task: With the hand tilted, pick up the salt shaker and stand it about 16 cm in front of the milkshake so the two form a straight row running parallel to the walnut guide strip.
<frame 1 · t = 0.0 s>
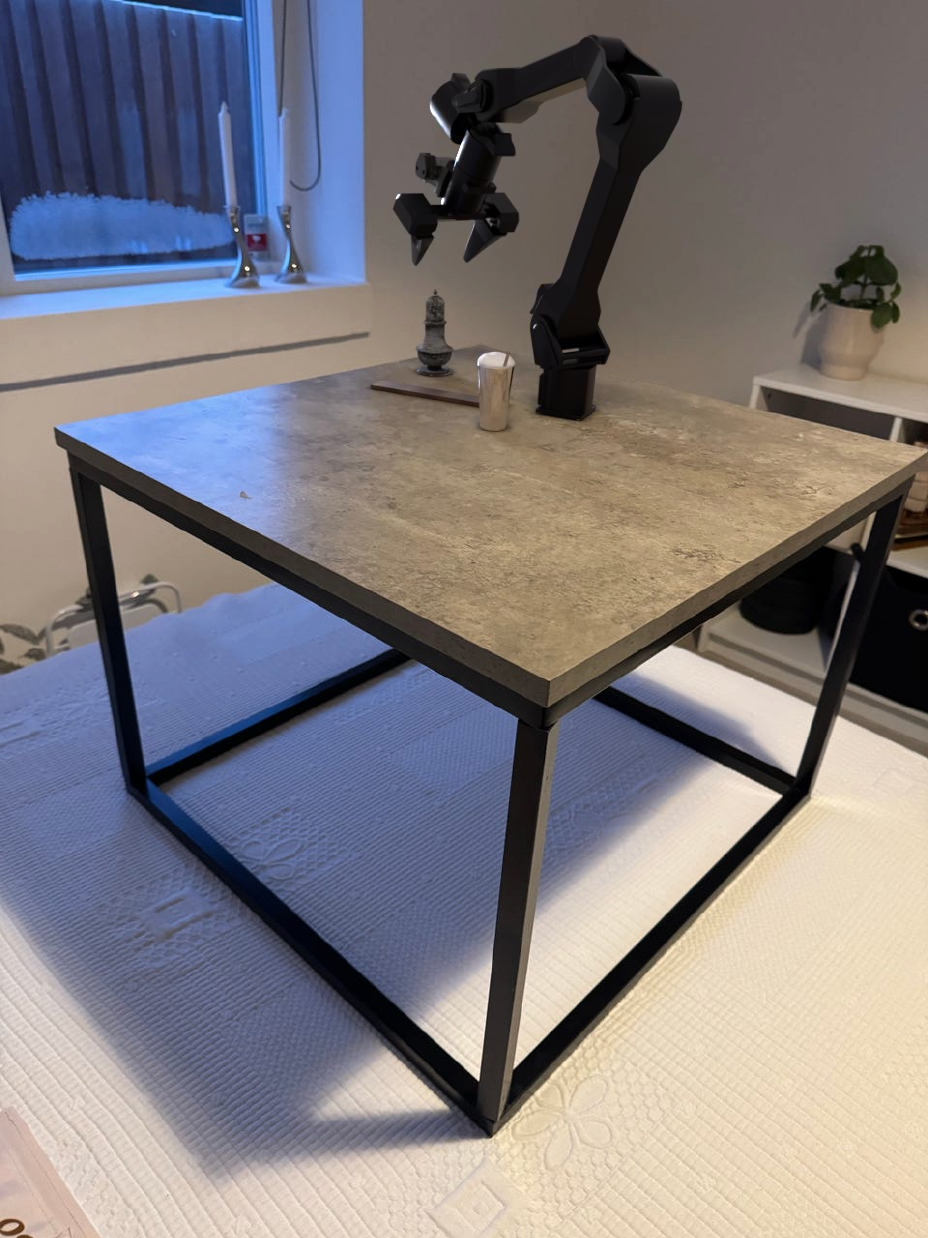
hand: (440, 262, 130), 15 cm above the table, tool tilted 35°, fingers open, 9 cm apart
salt shaker: (434, 373, 132), on the table
milkshake: (494, 429, 108), on the table
guide strip: (437, 396, 119), on the table
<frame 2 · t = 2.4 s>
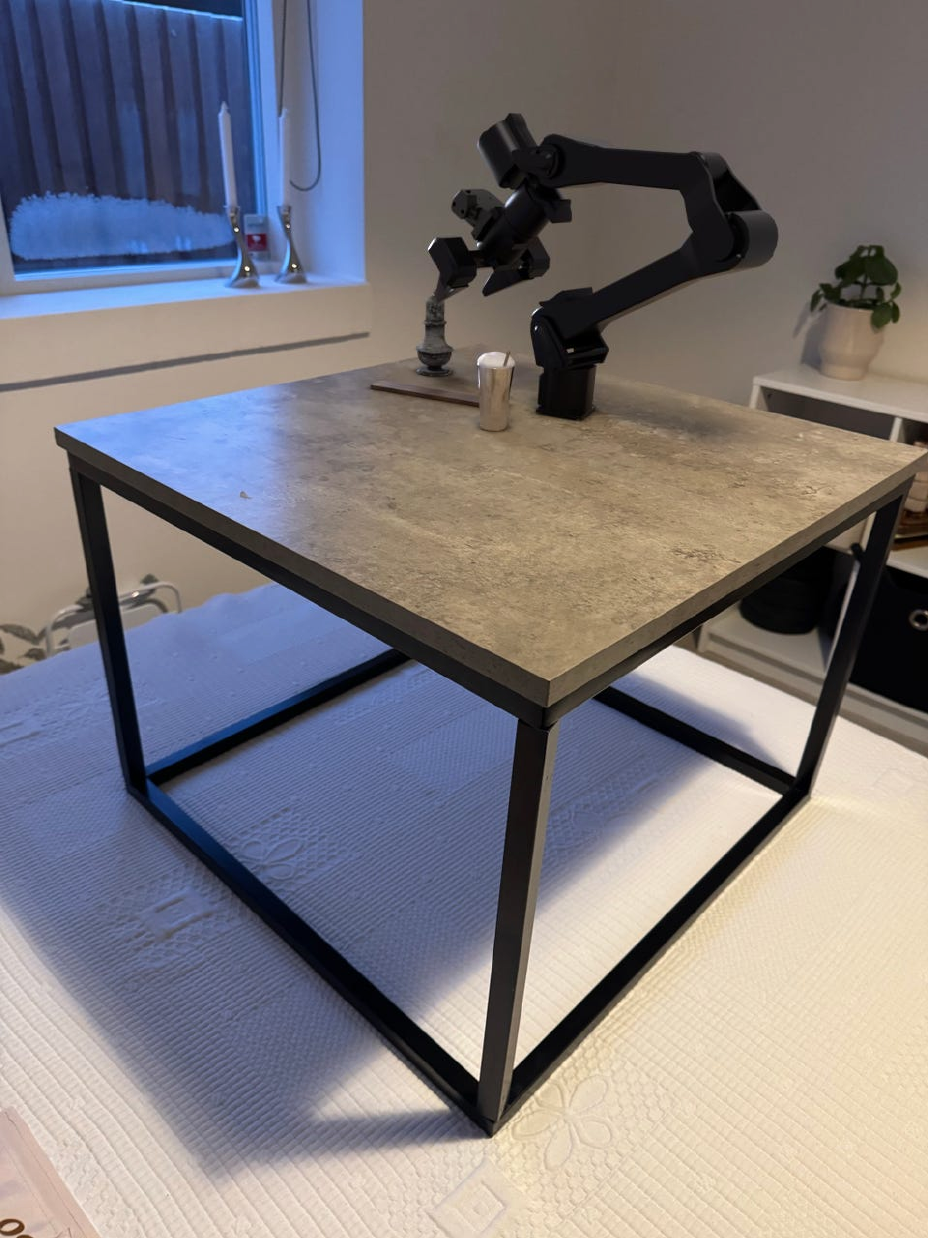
hand: (460, 296, 122), 12 cm above the table, tool tilted 45°, fingers open, 9 cm apart
nothing on the table moved.
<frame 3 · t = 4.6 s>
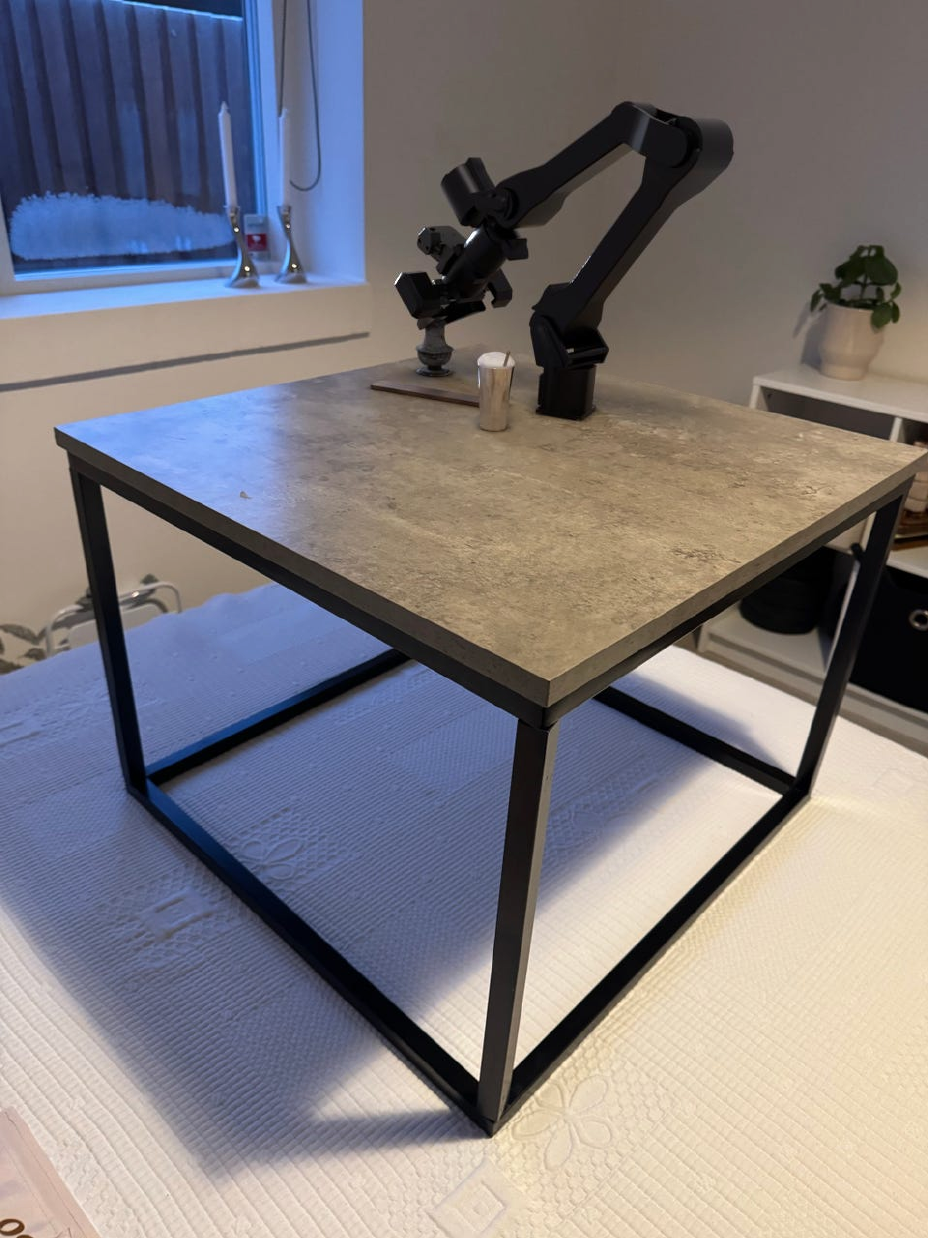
hand: (428, 325, 129), 7 cm above the table, tool tilted 45°, fingers closed on salt shaker, 3 cm apart
salt shaker: (434, 373, 132), on the table, touching gripper
everything else where it was.
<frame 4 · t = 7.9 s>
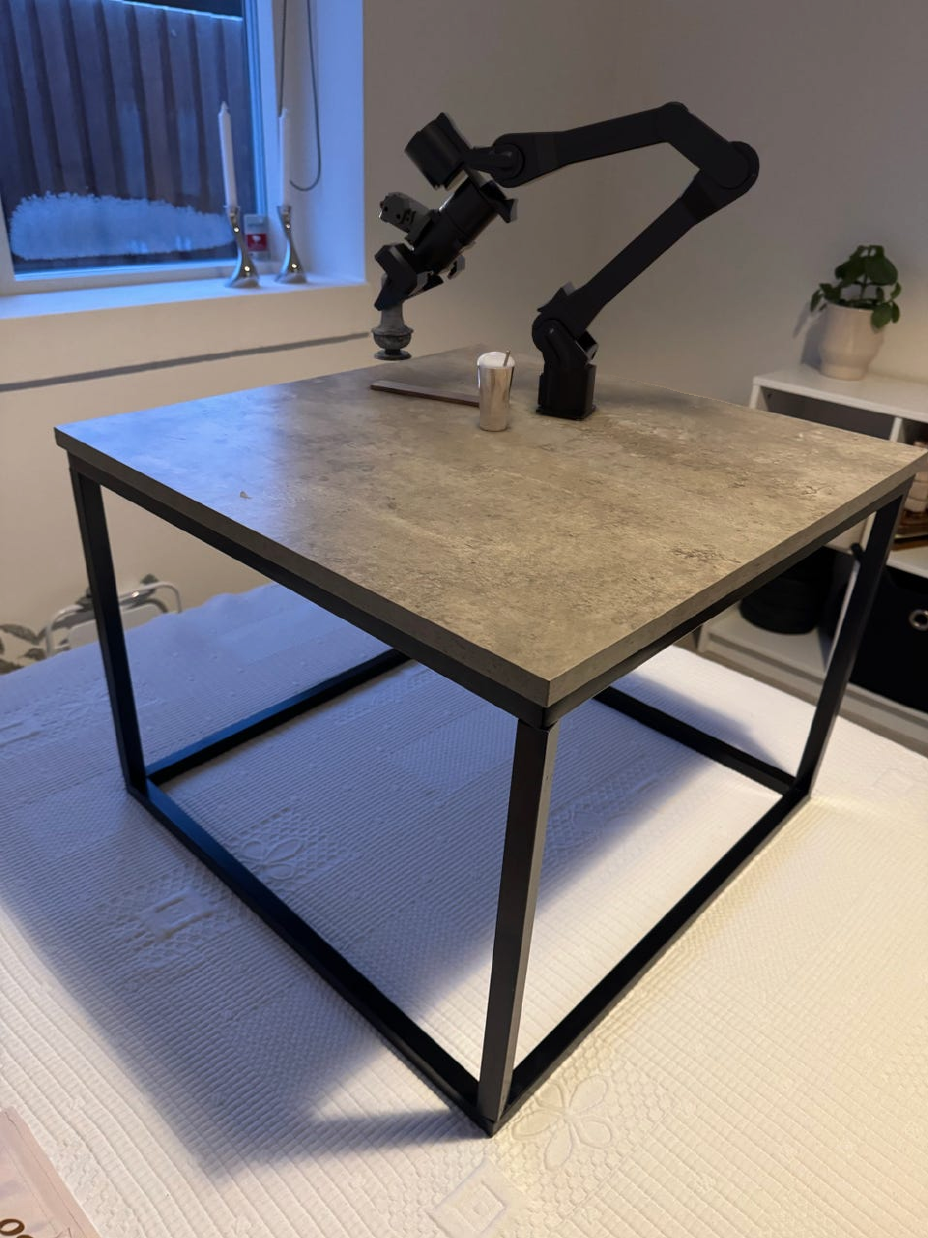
hand: (382, 305, 116), 11 cm above the table, tool tilted 45°, fingers closed on salt shaker, 3 cm apart
salt shaker: (392, 357, 119), point 5 cm above the table, touching gripper
everything else where it was.
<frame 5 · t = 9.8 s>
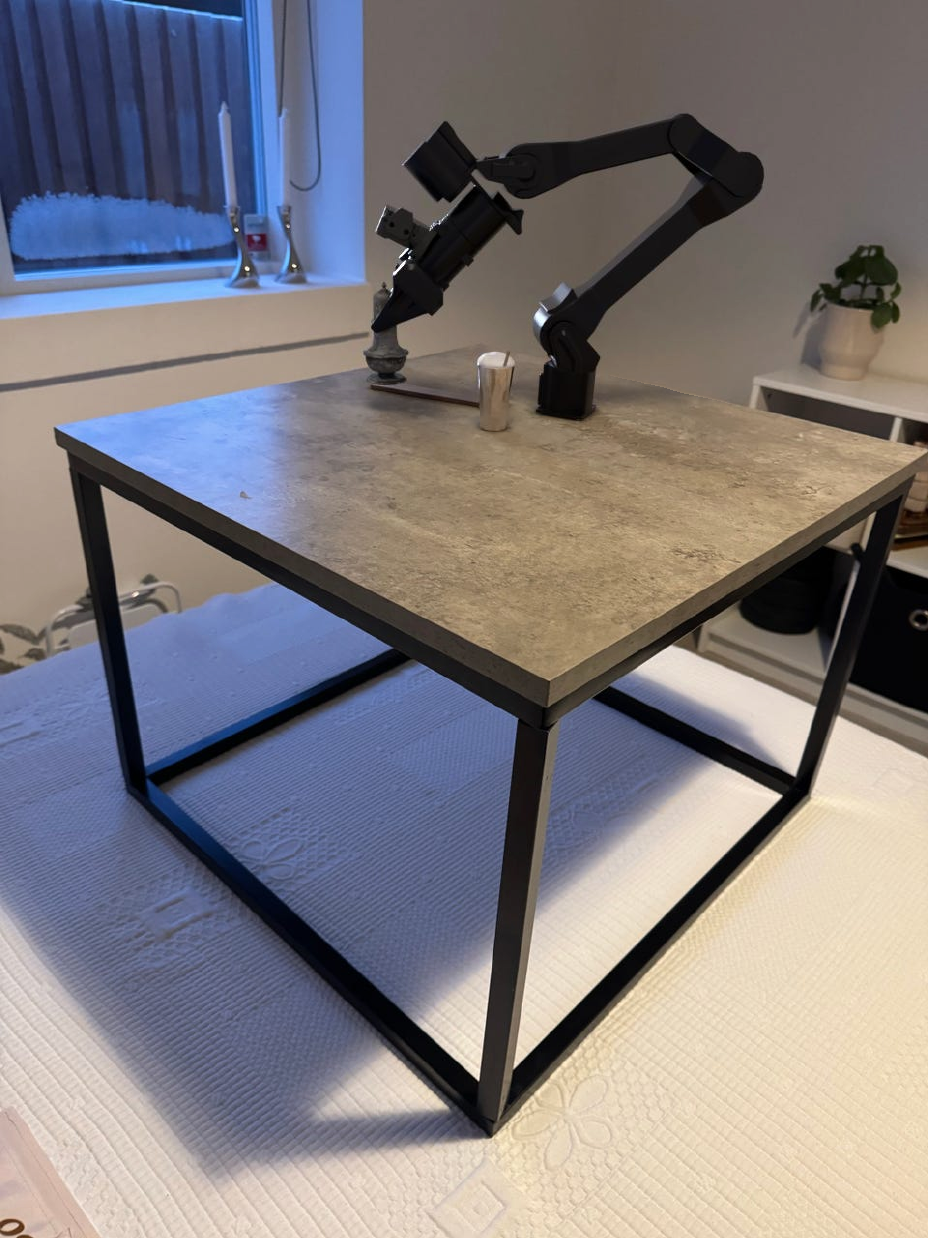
hand: (374, 327, 108), 10 cm above the table, tool tilted 45°, fingers closed on salt shaker, 3 cm apart
salt shaker: (386, 381, 112), point 4 cm above the table, touching gripper
everything else where it was.
when the fingers open (7 cm above the table, at t = 11.2 s): salt shaker stays where it is, on the table.
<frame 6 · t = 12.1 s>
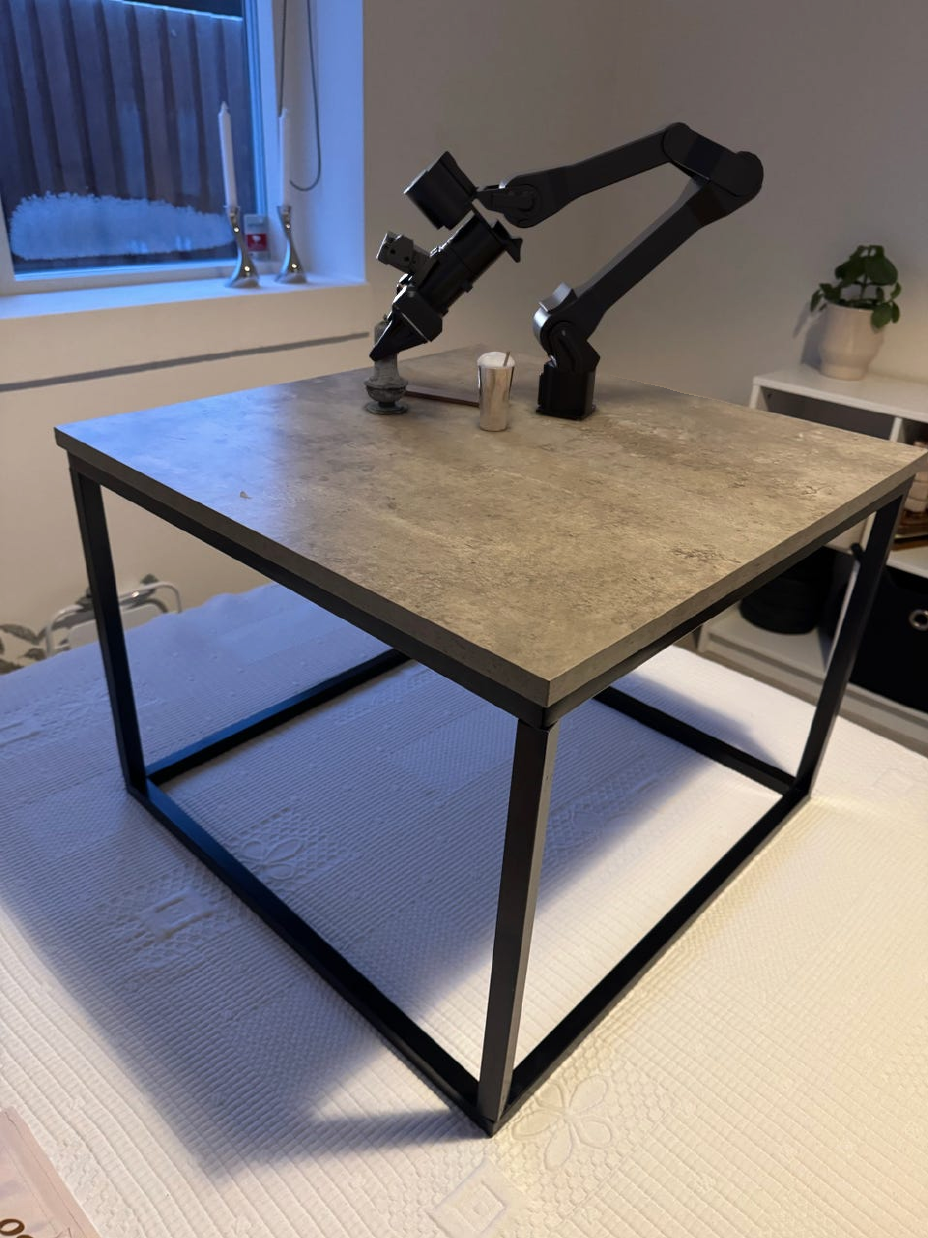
hand: (374, 350, 110), 8 cm above the table, tool tilted 45°, fingers open, 9 cm apart
salt shaker: (386, 409, 114), on the table
everything else where it was.
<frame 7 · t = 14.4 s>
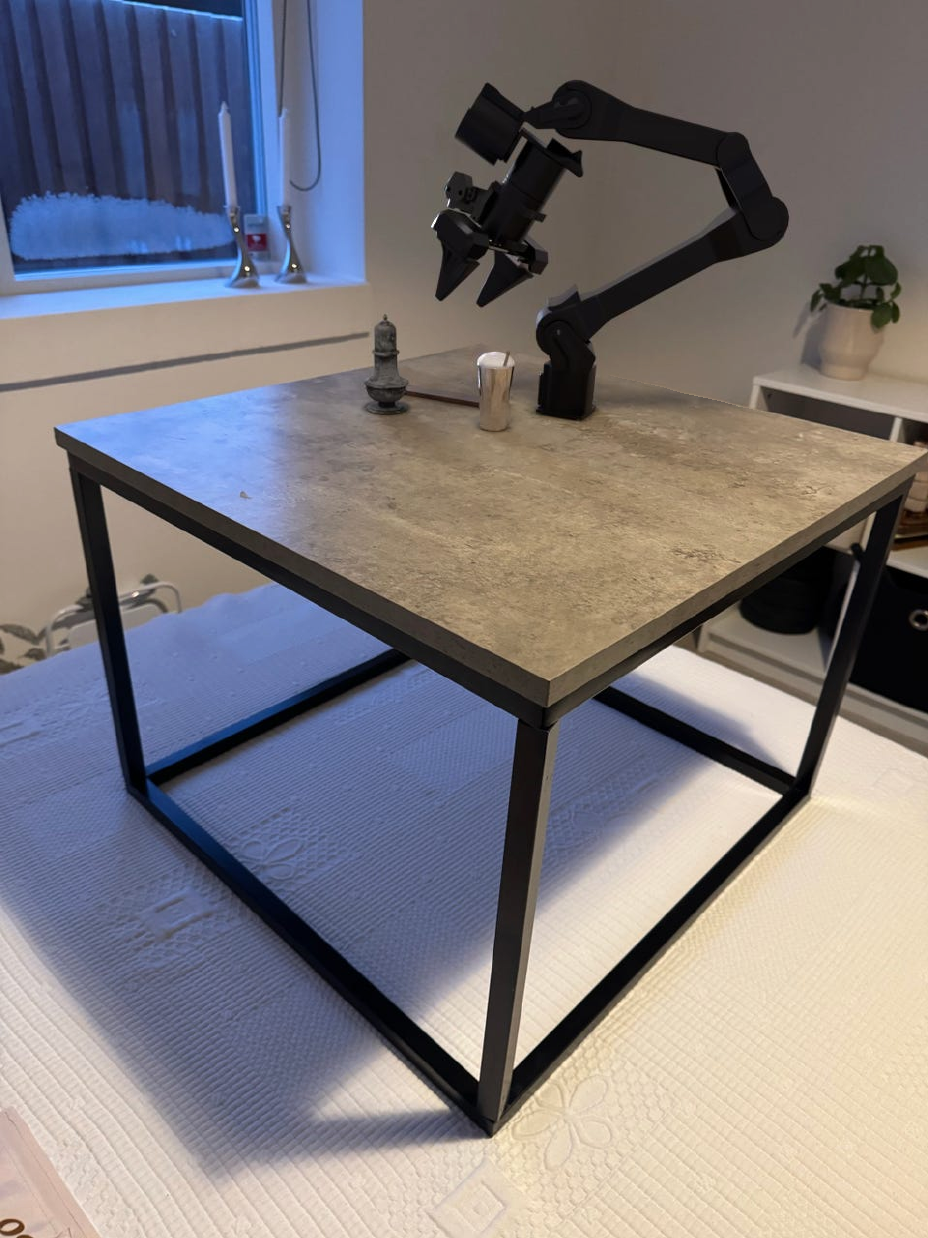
hand: (459, 302, 111), 13 cm above the table, tool tilted 30°, fingers open, 9 cm apart
nothing on the table moved.
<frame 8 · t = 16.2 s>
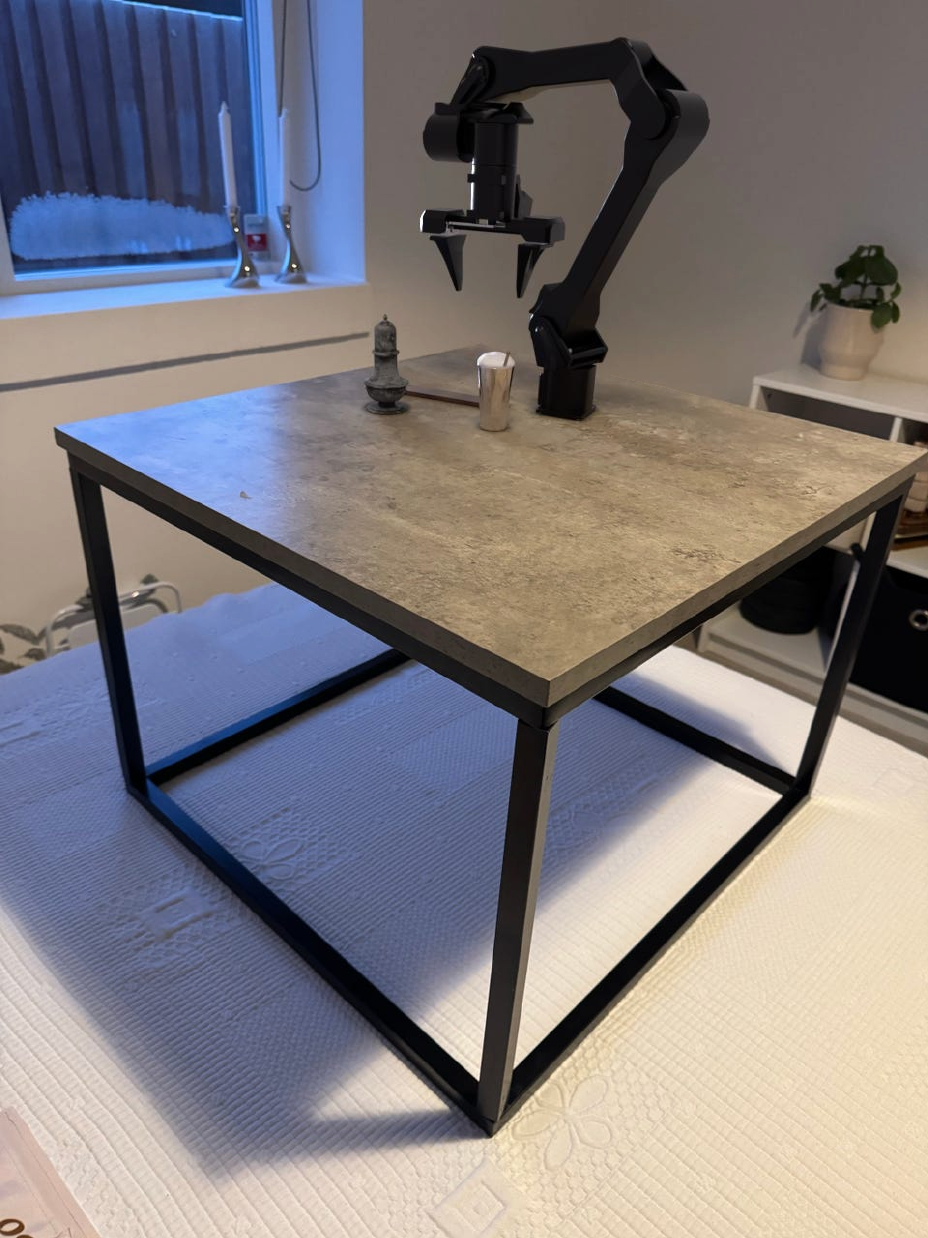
hand: (488, 294, 117), 13 cm above the table, tool pointing down, fingers open, 9 cm apart
nothing on the table moved.
at the end: salt shaker 0.2 cm from the target spot on the table beside the milkshake, on the table; salt shaker tilted 0°; milkshake moved 0.2 cm from its start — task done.
